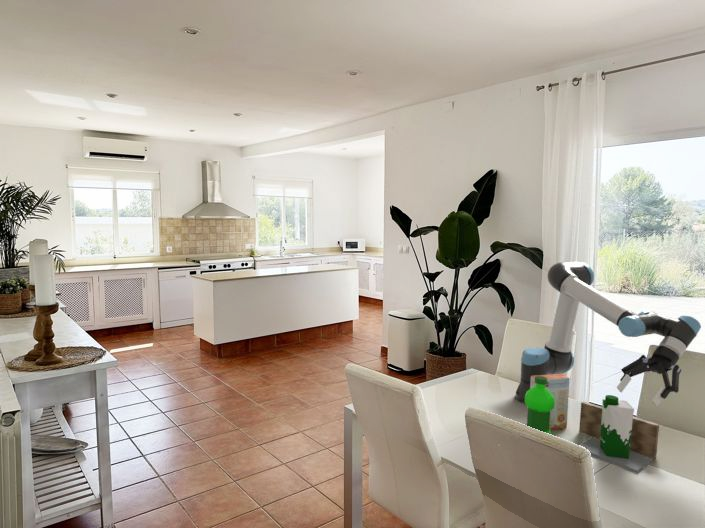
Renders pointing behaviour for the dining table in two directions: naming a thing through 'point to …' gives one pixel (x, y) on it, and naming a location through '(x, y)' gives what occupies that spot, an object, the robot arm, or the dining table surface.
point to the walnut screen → (641, 435)
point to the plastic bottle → (539, 405)
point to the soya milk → (616, 427)
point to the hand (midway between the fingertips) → (636, 396)
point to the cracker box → (557, 398)
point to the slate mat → (632, 464)
